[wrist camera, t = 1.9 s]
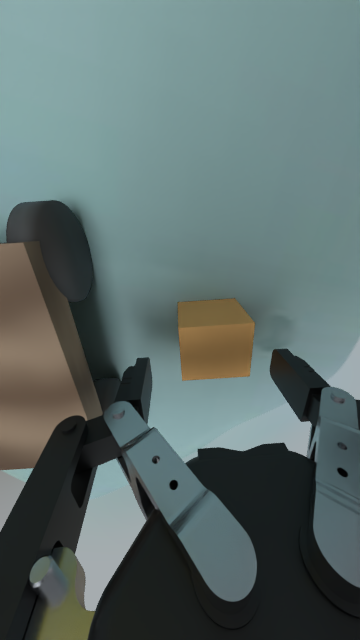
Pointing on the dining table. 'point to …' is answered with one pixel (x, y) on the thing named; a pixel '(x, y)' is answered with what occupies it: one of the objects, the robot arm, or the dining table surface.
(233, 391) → the dining table surface
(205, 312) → the block
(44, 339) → the trolley
